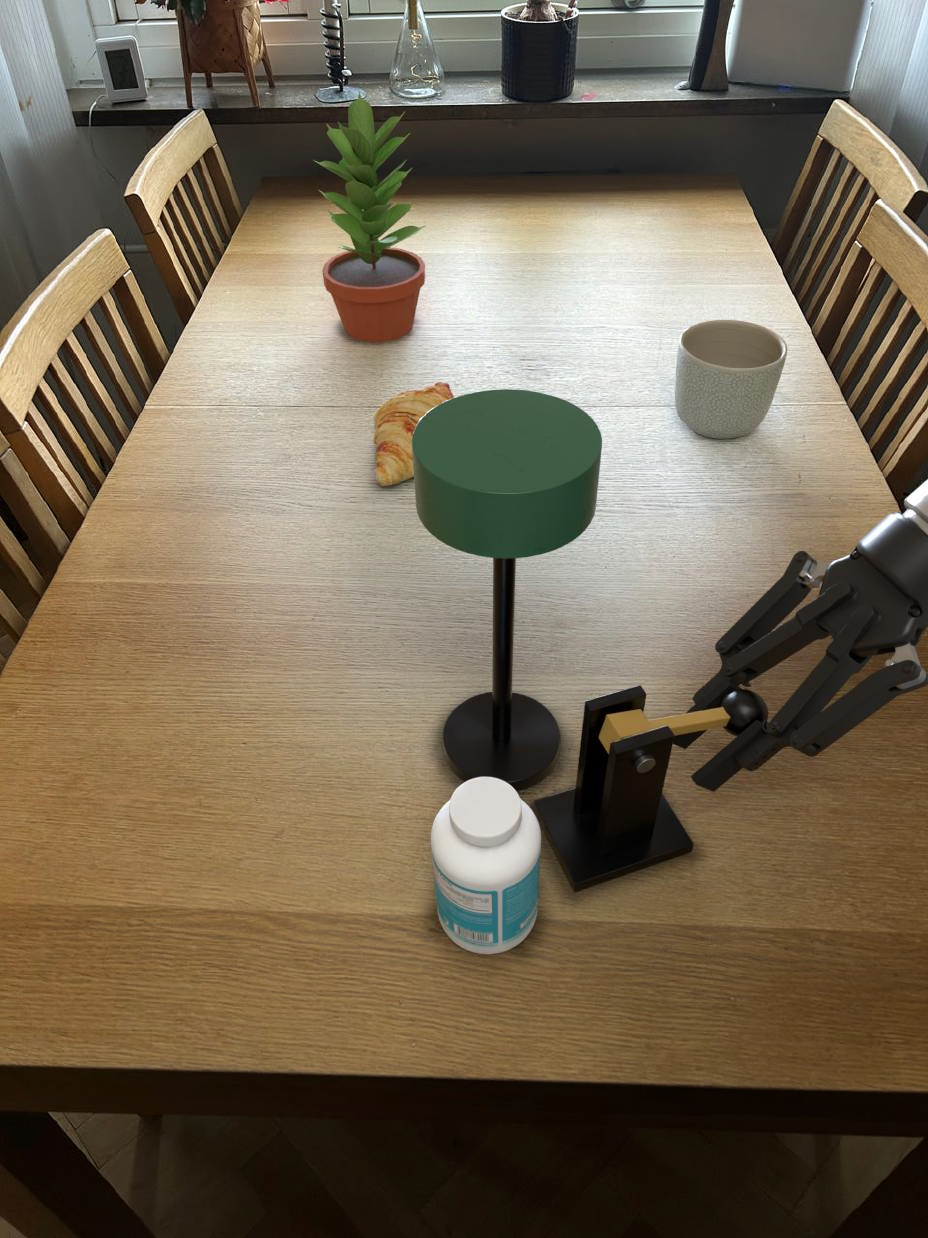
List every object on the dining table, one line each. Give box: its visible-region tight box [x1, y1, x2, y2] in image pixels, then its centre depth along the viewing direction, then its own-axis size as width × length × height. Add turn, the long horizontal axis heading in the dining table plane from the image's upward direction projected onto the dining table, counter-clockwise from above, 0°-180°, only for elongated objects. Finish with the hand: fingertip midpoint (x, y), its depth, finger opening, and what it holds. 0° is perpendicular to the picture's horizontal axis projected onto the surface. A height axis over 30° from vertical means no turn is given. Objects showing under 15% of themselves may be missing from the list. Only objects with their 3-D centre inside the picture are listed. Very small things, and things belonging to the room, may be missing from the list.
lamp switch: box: [599, 688, 769, 754], centre depth 67 cm, size 13×4×4 cm, turn 110°
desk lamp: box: [412, 388, 603, 793], centre depth 69 cm, size 12×12×31 cm
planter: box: [674, 319, 788, 440], centre depth 113 cm, size 12×12×11 cm
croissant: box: [373, 381, 455, 487], centre depth 112 cm, size 21×10×8 cm, turn 162°
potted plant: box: [313, 91, 427, 343], centre depth 126 cm, size 15×15×30 cm
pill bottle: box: [430, 777, 542, 955], centre depth 64 cm, size 8×7×14 cm
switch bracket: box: [532, 684, 695, 893], centre depth 69 cm, size 10×8×14 cm
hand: (688, 762), depth 71 cm, fingers closed on lamp switch, 4 cm apart
